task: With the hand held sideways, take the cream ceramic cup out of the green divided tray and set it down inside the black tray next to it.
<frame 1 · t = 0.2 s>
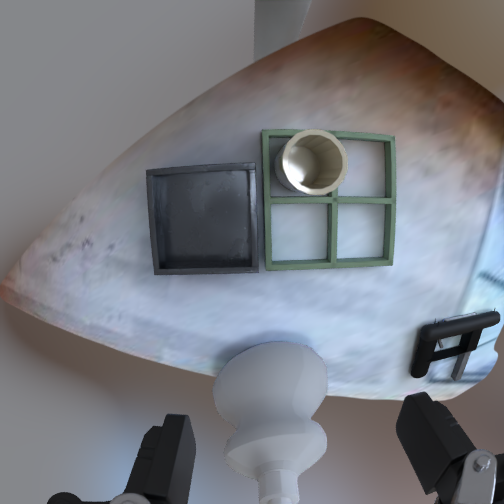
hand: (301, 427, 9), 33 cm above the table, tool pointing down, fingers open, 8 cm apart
cup: (298, 166, 39), resting in green divided tray
soap bottle: (267, 361, 46), on the table
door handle: (451, 346, 46), on the table
green divided tray: (330, 199, 40), on the table
black tray: (206, 216, 40), on the table
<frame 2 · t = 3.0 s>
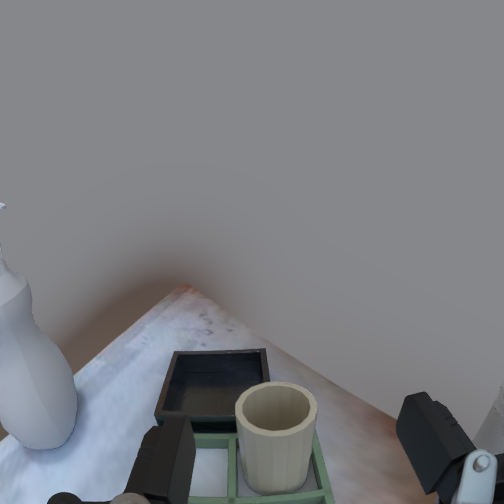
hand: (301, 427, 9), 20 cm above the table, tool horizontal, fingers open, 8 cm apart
cup: (275, 472, 25), resting in green divided tray
soap bottle: (54, 424, 28), on the table
black tray: (219, 400, 37), on the table
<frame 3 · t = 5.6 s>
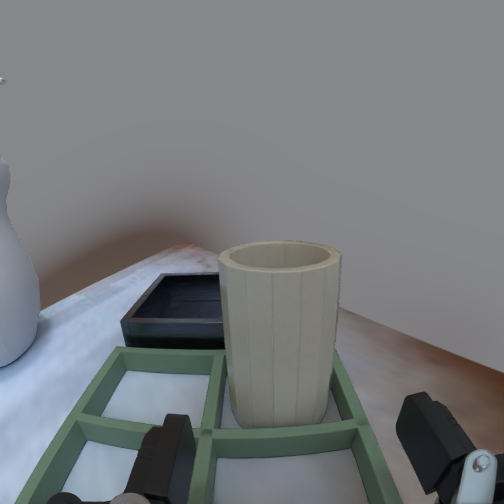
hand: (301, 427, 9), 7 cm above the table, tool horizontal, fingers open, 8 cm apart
cup: (279, 405, 19), resting in green divided tray
soap bottle: (8, 348, 24), on the table
green divided tray: (210, 452, 15), on the table
black tray: (209, 326, 31), on the table
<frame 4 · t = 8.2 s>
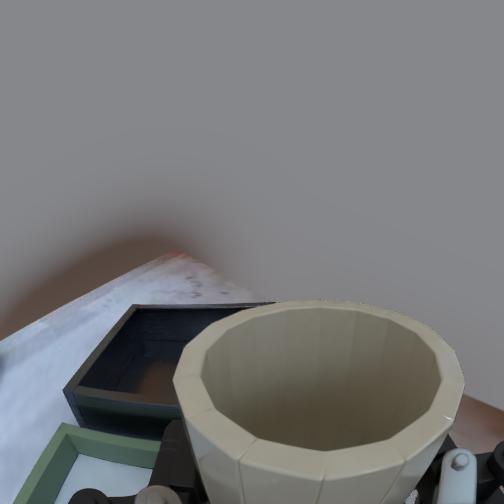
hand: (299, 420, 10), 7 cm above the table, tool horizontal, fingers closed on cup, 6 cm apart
black tray: (194, 384, 21), on the table
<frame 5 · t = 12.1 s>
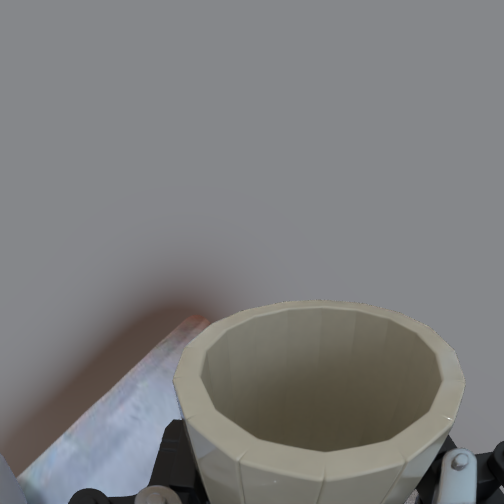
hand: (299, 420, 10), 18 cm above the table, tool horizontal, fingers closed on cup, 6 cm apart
when the fingers open (7 cm above the table, at t = 16.2 s): cup stays where it is, resting on black tray.
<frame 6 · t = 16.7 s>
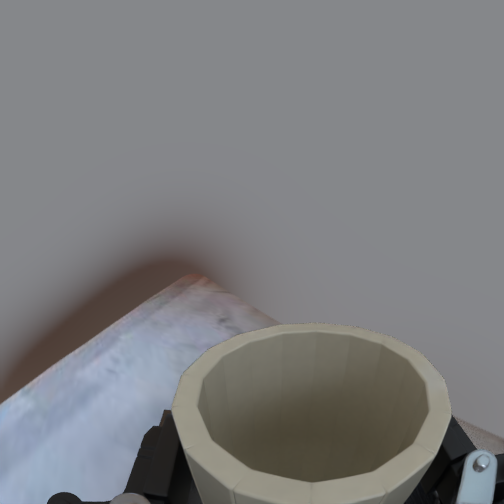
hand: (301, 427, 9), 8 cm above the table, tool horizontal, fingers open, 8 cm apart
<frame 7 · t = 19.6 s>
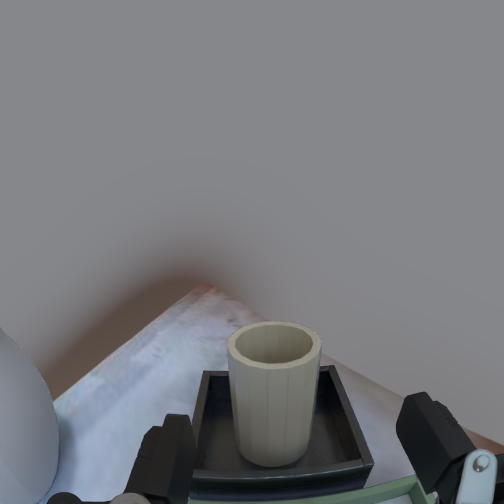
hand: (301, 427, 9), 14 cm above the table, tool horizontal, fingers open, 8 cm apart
cup: (272, 440, 23), resting on black tray
soap bottle: (28, 467, 15), on the table
black tray: (273, 442, 23), on the table
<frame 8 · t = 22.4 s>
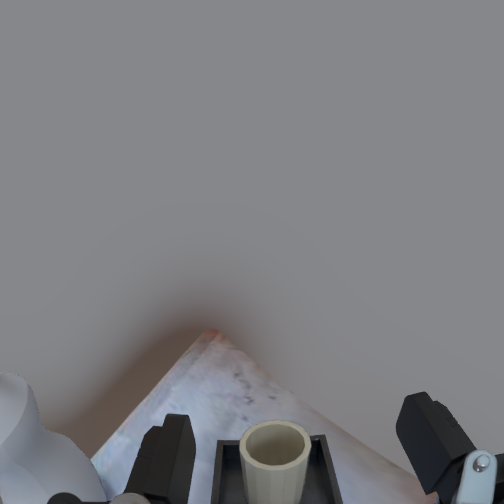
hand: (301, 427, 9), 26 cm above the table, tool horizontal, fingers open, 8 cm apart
cup: (273, 494, 26), resting on black tray
black tray: (274, 495, 26), on the table
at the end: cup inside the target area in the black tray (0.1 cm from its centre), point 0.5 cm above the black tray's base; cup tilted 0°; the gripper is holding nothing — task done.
